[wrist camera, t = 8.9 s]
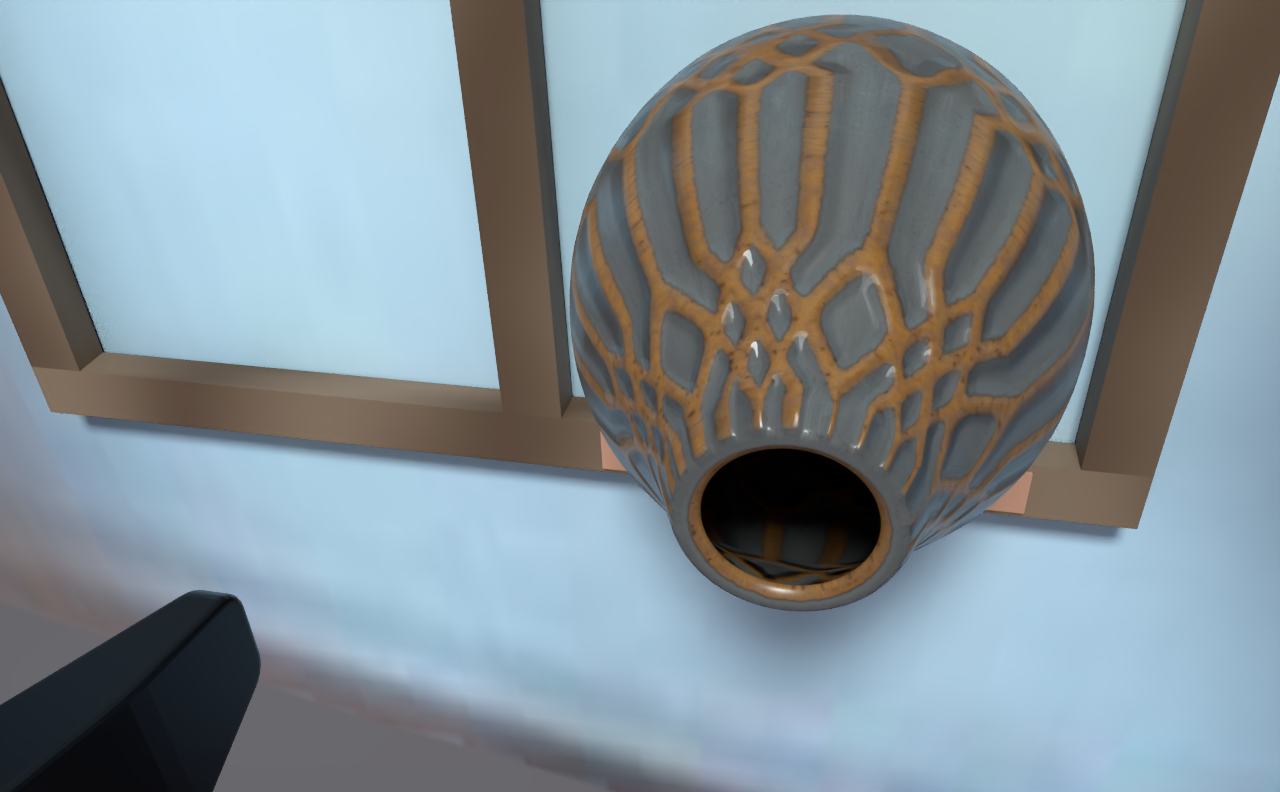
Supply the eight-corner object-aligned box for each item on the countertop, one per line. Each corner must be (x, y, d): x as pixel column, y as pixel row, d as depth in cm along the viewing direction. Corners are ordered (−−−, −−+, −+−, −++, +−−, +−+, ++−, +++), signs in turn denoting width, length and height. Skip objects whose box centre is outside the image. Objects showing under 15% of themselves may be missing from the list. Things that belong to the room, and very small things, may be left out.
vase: (841, -140, 15) (780, 16, 7) (1152, 184, 16) (1346, 567, 9) (557, 187, 18) (337, 497, 11) (832, 424, 20) (791, 828, 13)
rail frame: (1356, -251, 13) (1383, -247, 12) (1129, 501, 19) (1138, 532, 19) (-171, -210, 17) (-219, -206, 16) (74, 392, 24) (47, 414, 23)
